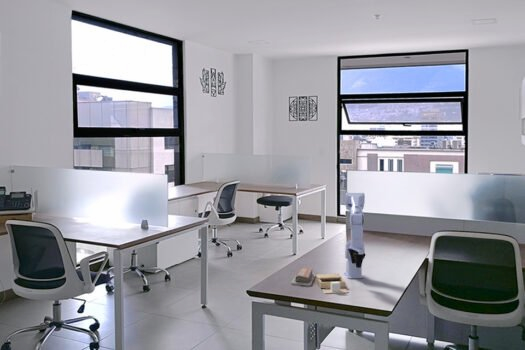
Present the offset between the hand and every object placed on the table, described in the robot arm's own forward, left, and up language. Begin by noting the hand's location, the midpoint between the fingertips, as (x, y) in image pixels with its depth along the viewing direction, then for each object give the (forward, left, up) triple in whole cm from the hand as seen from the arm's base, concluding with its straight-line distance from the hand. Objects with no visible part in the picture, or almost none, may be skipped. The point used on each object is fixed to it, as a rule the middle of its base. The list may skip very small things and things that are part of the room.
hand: (356, 265), depth 246 cm
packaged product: (-13, -24, -11) cm, 29 cm away
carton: (-4, -12, -10) cm, 16 cm away
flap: (+6, -12, -11) cm, 17 cm away
